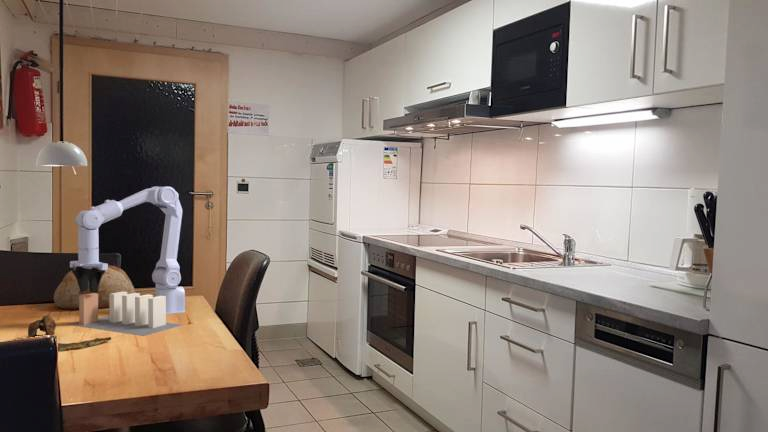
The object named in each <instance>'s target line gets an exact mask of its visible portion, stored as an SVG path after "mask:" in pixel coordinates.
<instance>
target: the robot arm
mask: <svg viewBox="0 0 768 432" xmlns="http://www.w3.org/2000/svg"><path fill="white" fill-rule="evenodd" d="M179 195H180V194H179V193H178V192H177V191H176V190H175V188H174V187H172V186H151V188H145V189H143V190H141V191H138V192H136V193H134V194H131V195H129V196H127V197H125V198H123V199H121V200H119V201H116V200H115V199H111V200H110V199H105V200H104V202H103V203H101V204H99V205H96V206H90V207H89V208H90V209H89V210H81V211H80V212H78V214H77V215H76V217H75V219H74V222H75V225H76V226H77V227H78V233H77V237H78V238H77V241H78V243H77V246H78V248H77V249H78V250H77V251H78V254H77V257H78V260H71V261H69V268H71V269H72V268H73V269H74V270H73V269H72V272H73V274H74V275H75V277H76V279H77V282H78V285H79V288H80V291H87V290H88V280H89V289H90V292H91V293H92V292H97V290H98V287H99V283H100V280H101V278H102V276H103V274H104V273H105V270H108V265H109V264H108V263H105V262H101V261H100V259H99V257H100V255H99V253H100V249H99V246H100V245H99V243H100V241H99V228H100V227H101V225H102V224H105V223H107V222H109V221H111V220H115V219H117V218H119V217H121V216H122V214H123V211H126V210H128V209H130V208H133V207H136V206H138V205H141V204H144V203H151V204H152V205H154V206H156V207H158V208H159V209H160V210H161V211H162V212H163V213H164V214H165V216H164V217H165V218H164V224H163V225H164V226H163V232H162V233H163V234H162V243H161V250H160V256H159V257H160V258H159V260H158V261H157V262H156V263H155V268H154V269H153V272H152V274H151V279H152V282H153V283H154V284H155V296H154V297H157V296H166V315H173V314H182V313H186V293H185V288H184V287H183V286H179V284H180V283H181V280H182V276H181V272H180V269H181V267H180V264H179V263H178V261H177V259H178V251H179V242H180V234H181V227H182V219H183V207H182V205H181V202H180V199H179V198H180V197H179ZM86 266H88V267H86ZM90 266H91V267H90ZM75 268H76V269H75ZM91 269H92V270H91Z"/></svg>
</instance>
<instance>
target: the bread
mask: <svg viewBox="0 0 768 432" xmlns="http://www.w3.org/2000/svg"><path fill="white" fill-rule="evenodd" d="M86 267H91V266H86ZM74 269H76V267H74V268H73V269H72V270H74ZM72 270H70V271H68V272H67V273H66V274H65V276H64V277H63V279H62V281H61V282H60V283H59V285H58V286H57V288H56V289H55V290H54V294H53V301H54V304H55V306H57V307H58V308H60V309H63V308H64V310H79V296H80V295H86V294H92V293H97V294H98V309H110V304H109V294H112V293H117V292H127V294H132V293H136V291H135V287H134V285H133V282H132V281H131V279H130V278H129V276H128V274H127V273H126V272H125V271H124V270H123V269H122V268H119V267H117V266H115V265H110V264H108V270H105V273H104V274H103V276H102V278H101V280H100V283H99V287H98V290H97V292H92V293H91V292H90V289H89V280H88V290H87V291H80V288H79V285H78V282H77V279H76V277H75V275H74V274H73V272H72ZM91 270H92V269H91Z"/></svg>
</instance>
